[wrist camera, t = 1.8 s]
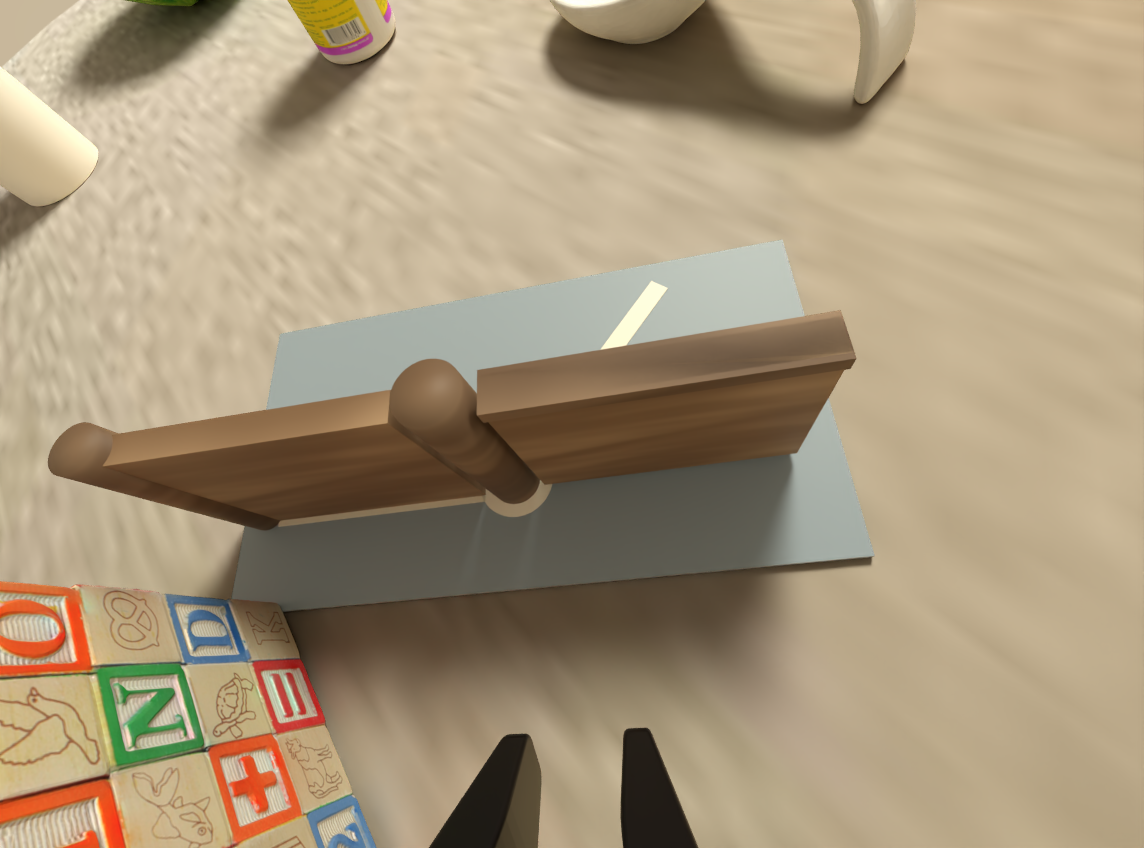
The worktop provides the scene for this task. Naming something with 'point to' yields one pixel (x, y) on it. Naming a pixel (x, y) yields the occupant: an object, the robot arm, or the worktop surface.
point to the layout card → (570, 509)
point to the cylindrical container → (39, 148)
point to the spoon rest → (661, 3)
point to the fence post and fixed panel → (310, 455)
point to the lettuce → (167, 2)
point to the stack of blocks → (162, 726)
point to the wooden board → (668, 399)
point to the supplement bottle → (346, 27)
